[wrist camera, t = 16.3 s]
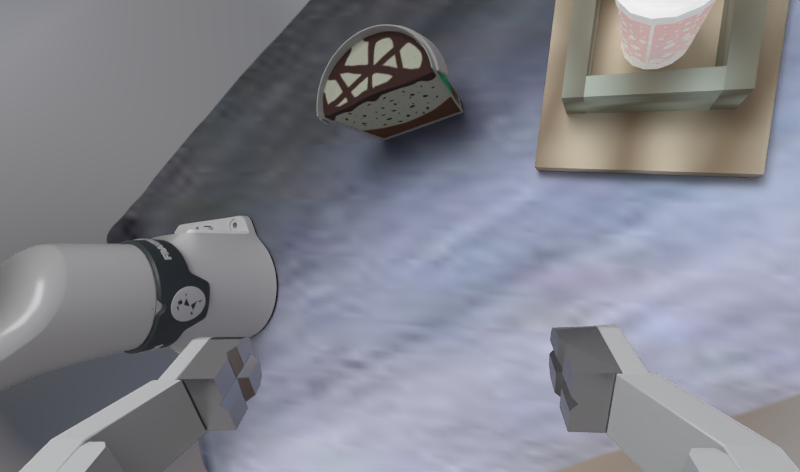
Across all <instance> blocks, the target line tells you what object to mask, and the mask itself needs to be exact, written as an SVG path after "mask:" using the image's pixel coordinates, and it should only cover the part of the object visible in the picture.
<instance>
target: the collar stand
mask: <svg viewBox="0 0 800 472" xmlns="http://www.w3.org/2000/svg"><path fill="white" fill-rule="evenodd" d="M788 6H789V0H716V1H715V2H714V4H713V6H712V8H711V10H710V11H709V13H708V15H707V17H706V18H705V20H704V22H703V24H702V25H701V27H700V29H699V31H698V32H697V34H696V36H695V38H694V39H693V41H692V43H691V44H690V46H689V47H688V49H687V50H686V52H685V53H684V55H683V56H681V57H680V58H679V59H677V60H676V61H675V62H673V63H672V64H670V65H667V66H664V67H662V68H659V69H641V68H638V67H635V66H632V65H631V64H630V63H629V62H628V61H627V60H626V59H625V58H624V54H623V51H622V47H621V35H620V24H619V13H618V7H617V6H616V2H615V0H556V3H555V11H554V19H553V27H552V35H551V43H550V51H549V59H548V67H547V75H546V83H545V91H544V99H543V107H542V115H541V123H540V131H539V138H538V146H537V154H536V162H535V168H536V169H537V170H547V171H576V172H606V173H635V174H664V175H693V176H722V177H751V178H757V177H759V176H761V175H763V174H764V169H765V163H766V156H767V149H768V142H769V135H770V129H771V122H772V115H773V108H774V101H775V95H776V88H777V81H778V74H779V67H780V60H781V54H782V47H783V40H784V33H785V26H786V20H787V13H788Z"/></svg>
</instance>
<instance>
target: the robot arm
mask: <svg viewBox="0 0 800 472" xmlns="http://www.w3.org/2000/svg"><path fill="white" fill-rule="evenodd" d="M276 291H277V283H276V273H275V269H274V265H273V262H272V259H271V257H270V254H269V253H268V251H267V249H266V248H265V246H264V245H263V244H262V242H261V241H260V240H259V238H258V237H257V235H256V233H255V230H254V227H253V224H252V221H251V219H250V218H249V217H248V216H236V217H229V218H222V219H215V220H209V221H202V222H195V223H189V224H182V225H179V226H178V228H177V229H176V231H175V233H174V234H171V235H165V236H159V237H154V238H152V239H135V240H128V241H124V242H121V243H120V244H40V245H36V246H32V247H29V248H26V249H24V250H22V251H20V252H18V253H16V254H14V255H12V256H11V257H9V258H8V259H6V260H5V261H4V262H2V263H1V264H0V391H2V390H4V389H6V388H8V387H10V386H12V385H14V384H16V383H19V382H21V381H23V380H25V379H28V378H30V377H32V376H35V375H38V374H41V373H44V372H47V371H50V370H54V369H57V368H61V367H64V366H68V365H71V364H75V363H79V362H82V361H86V360H90V359H94V358H98V357H102V356H106V355H110V354H115V353H119V352H126V353H138V352H148V351H153V350H156V349H159V348H162V347H167V346H168V347H169V348H171V349H172V350H174V351H176V353H179V354H180V355H179V356H178V357H177V359H175V361H174V362H173V363H172V364H171V366H169V368H168V369H167V370H166V371H165V372H164V373H163V375H162V376H161V377H160V378H159V379H158V380H152V381H150V382H149V383H147V384H145V385H144V386H142V387H140V388H138V389H137V390H135V391H133V392H132V393H130V394H128V395H126V396H125V397H123V398H121V399H120V400H118V401H116V402H115V403H113V404H111V405H109V406H108V407H106V408H104V409H103V410H101V411H99V412H97V413H96V414H94V415H92V416H91V417H89V418H87V419H85V420H84V421H82V422H80V423H79V424H77V425H75V426H73V427H72V428H70V429H68V430H67V431H65V432H63V433H62V434H60V435H58V436H56V437H55V438H53V439H51V440H50V441H49V442H48V443H47V444H46V445H45V446H44V447H43V448H42V449H41V450H40V451H39V452H38V453H37V454H36V455H35V456H34V457H33V458H32V459H31V460H30V461H29V462H28V463H27V464H26V465H25V466H24V467H23V468H22V469H21V470H20V471H19V472H163V471H164V470H165V469H166V468H167V467H168V466H169V465H170V464H172V463H173V462H174V461H175V460H176V459H177V458H178V457H179V456H180V455H182V454H183V453H184V452H185V451H186V450H187V449H188V448H189V447H191V446H192V445H193V444H194V443H195V442H196V441H197V440H198V439H199V438H201V437H202V436H203V435H204V434H205V433H206V431H211V430H237V428H238V426H239V424H240V422H241V420H242V419H243V417H244V415H245V413H246V411H247V409H248V407H247V403H246V401H248V400H249V399H250V398H252V397H253V396H254V395H255V394H256V392H257V390H258V388H259V386H260V382H261V377H262V372H261V365H260V362H259V360H258V359H257V358H255V357H254V356H253V355H252V352H253V350H254V346H253V344H252V341H251V339H250V337H252V336H253V335H255V334H257V333H258V332H259V331H260V330H261V329H262V328H263V327H264V326H265V325H266V323H267V322H268V320H269V318H270V316H271V314H272V311H273V308H274V304H275V300H276ZM550 341H551V344H552V346H553V349H554V350H553V351H552V352H551V353H550V354H549V368H550V377H551V381H552V385H553V388H554V392H555V393H556V394H557V395H559V396H560V410H561V413H562V416H563V419H564V422H565V425H566V427H567V430H568V432H596V433H607V436H608V437H609V438H611V439H612V440H613V441H614V442H615V443H616V444H617V445H618V446H619V447H620V448H621V449H622V450H623V451H624V452H625V453H626V454H627V455H628V456H629V457H630V458H631V459H632V460H633V461H634V462H635V463H636V464H637V465H638V466H639V467H640V468H642V469H643V470H644V472H800V470H799V469H798V468H797V467H796V466H795V464H794V463H793V462H792V461H791V460H790V458H789V457H788V456H787V455H786V454H785V452H784V451H783V450H782V449H781V448H780V447H779V446H777V445H775V444H774V443H772V442H770V441H769V440H767V439H765V438H764V437H762V436H760V435H759V434H757V433H755V432H754V431H752V430H750V429H749V428H747V427H745V426H743V425H742V424H740V423H739V422H737V421H735V420H734V419H732V418H730V417H729V416H727V415H725V414H724V413H722V412H720V411H719V410H717V409H715V408H714V407H712V406H710V405H709V404H707V403H705V402H704V401H702V400H700V399H699V398H697V397H695V396H694V395H692V394H690V393H689V392H687V391H685V390H684V389H682V388H680V387H679V386H677V385H675V384H674V383H672V382H670V381H669V380H667V379H665V378H664V377H662V376H660V375H659V374H657V373H649V371H648V370H647V368H646V367H645V365H644V364H643V362H642V361H641V359H640V358H639V356H638V354H637V353H636V351H635V350H634V348H633V347H632V345H631V344H630V342H629V341H628V339H627V338H626V336H625V335H624V333H623V331H622V330H621V328H620V327H619V326H617V325H598V326H586V327H558V328H552V331H551V338H550Z"/></svg>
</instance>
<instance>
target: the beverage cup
mask: <svg viewBox="0 0 800 472" xmlns="http://www.w3.org/2000/svg"><path fill="white" fill-rule="evenodd" d="M715 1H716V0H615V2H616V6H617V7H618V13H619V24H620V35H621V47H622V51H623V54H624V58H625V59H626V60H627V61H628V62H629V63H630V64H631V65H632V66H635V67H638V68H641V69H659V68H662V67H664V66H667V65H670V64H672V63H673V62H675V61H676V60H677V59H679V58H680V57H681V56H683V55H684V53H685V52H686V50H687V49H688V47H689V46H690V44H691V43H692V41H693V39H694V38H695V36H696V34H697V32H698V31H699V29H700V27H701V25H702V24H703V22H704V20H705V18H706V17H707V15H708V13H709V11H710V10H711V8H712V6H713V4H714V2H715Z"/></svg>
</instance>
